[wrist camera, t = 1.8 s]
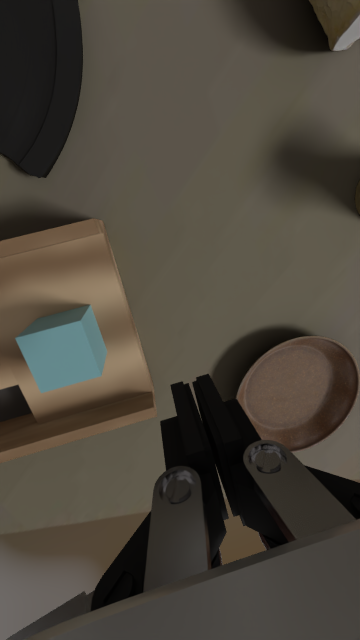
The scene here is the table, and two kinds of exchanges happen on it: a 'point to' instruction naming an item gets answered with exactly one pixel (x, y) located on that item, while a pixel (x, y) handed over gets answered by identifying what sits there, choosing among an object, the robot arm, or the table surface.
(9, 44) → the fan shaped piece
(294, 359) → the saucer
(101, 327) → the box
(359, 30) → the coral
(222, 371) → the table surface
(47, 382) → the teal block
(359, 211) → the cork
